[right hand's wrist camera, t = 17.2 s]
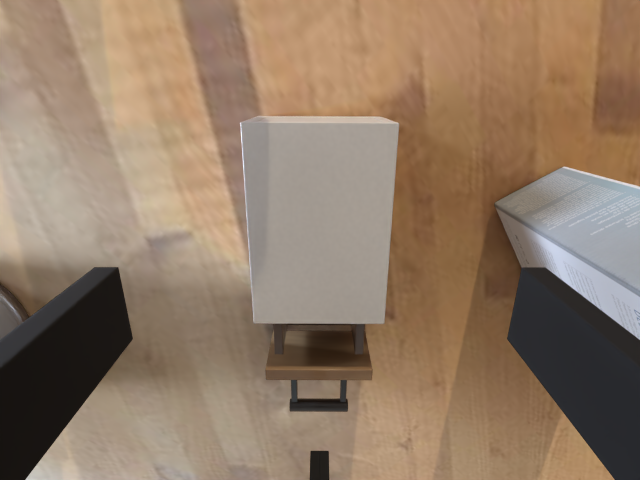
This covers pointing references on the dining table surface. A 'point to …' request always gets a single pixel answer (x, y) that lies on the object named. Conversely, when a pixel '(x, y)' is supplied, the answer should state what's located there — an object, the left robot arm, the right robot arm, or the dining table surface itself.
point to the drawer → (319, 362)
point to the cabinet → (319, 216)
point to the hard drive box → (581, 237)
